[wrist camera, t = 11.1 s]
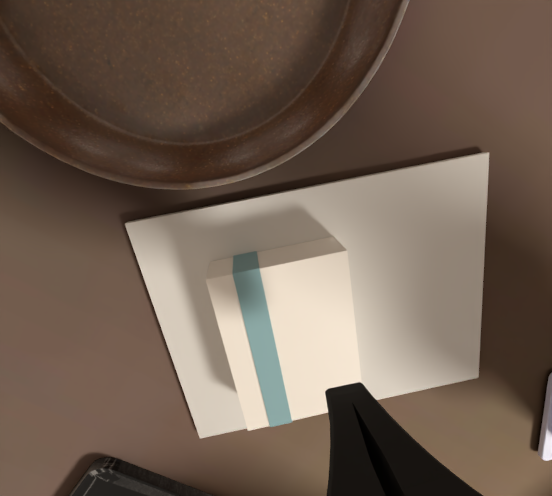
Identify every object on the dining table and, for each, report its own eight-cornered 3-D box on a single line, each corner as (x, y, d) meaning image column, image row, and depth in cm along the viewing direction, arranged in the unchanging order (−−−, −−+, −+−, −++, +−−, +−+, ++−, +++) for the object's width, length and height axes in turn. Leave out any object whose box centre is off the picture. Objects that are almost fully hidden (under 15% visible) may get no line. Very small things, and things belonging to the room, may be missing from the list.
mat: (483, 152, 16) (489, 152, 16) (474, 373, 21) (478, 377, 20) (127, 221, 15) (124, 223, 15) (200, 432, 20) (199, 438, 20)
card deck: (347, 249, 14) (205, 279, 14) (364, 405, 17) (248, 432, 17) (333, 235, 16) (209, 260, 16) (350, 375, 19) (247, 399, 19)
